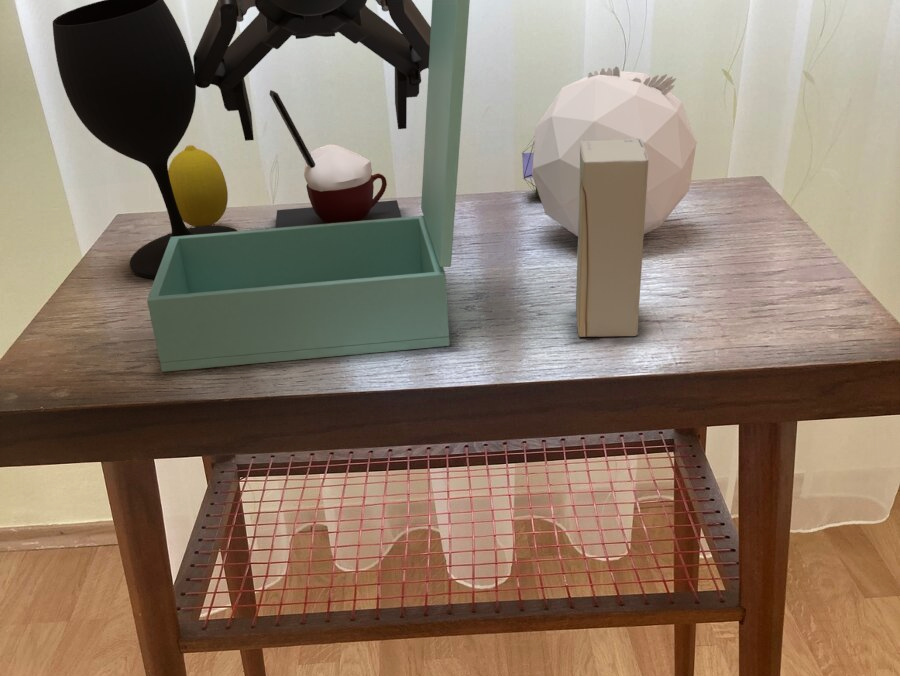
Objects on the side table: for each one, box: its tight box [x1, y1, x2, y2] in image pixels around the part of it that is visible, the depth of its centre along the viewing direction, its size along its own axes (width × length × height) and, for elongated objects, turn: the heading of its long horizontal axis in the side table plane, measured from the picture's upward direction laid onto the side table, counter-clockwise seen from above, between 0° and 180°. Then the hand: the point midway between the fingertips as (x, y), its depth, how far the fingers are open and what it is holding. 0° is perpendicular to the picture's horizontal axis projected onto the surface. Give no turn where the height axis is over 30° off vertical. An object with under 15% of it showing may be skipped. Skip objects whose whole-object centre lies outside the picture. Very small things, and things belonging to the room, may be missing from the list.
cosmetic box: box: [575, 138, 648, 338], centre depth 77 cm, size 6×4×12 cm
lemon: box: [168, 144, 229, 227], centre depth 105 cm, size 6×6×8 cm
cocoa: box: [269, 89, 388, 224], centre depth 101 cm, size 10×6×12 cm, turn 91°
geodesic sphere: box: [532, 66, 698, 237], centre depth 94 cm, size 15×14×14 cm
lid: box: [420, 0, 471, 268], centre depth 76 cm, size 21×15×4 cm
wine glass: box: [52, 0, 239, 280], centre depth 92 cm, size 10×10×20 cm
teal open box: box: [146, 215, 451, 373], centre depth 83 cm, size 20×15×5 cm
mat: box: [274, 199, 402, 228], centre depth 105 cm, size 12×12×1 cm
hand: (324, 121), depth 98 cm, fingers open, 13 cm apart
